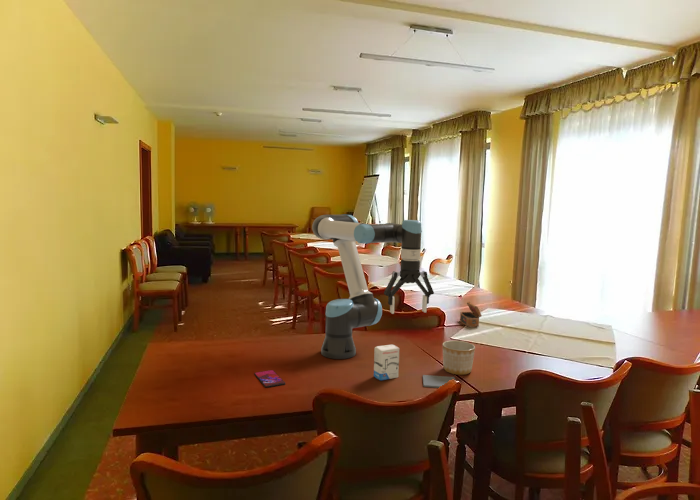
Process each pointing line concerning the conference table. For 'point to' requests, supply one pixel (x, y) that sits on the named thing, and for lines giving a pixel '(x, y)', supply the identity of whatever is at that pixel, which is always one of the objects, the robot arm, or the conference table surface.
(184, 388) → the conference table surface
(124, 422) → the conference table surface
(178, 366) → the conference table surface
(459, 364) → the planter
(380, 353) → the ink box
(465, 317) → the box
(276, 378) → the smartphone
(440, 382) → the mat
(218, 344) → the conference table surface
